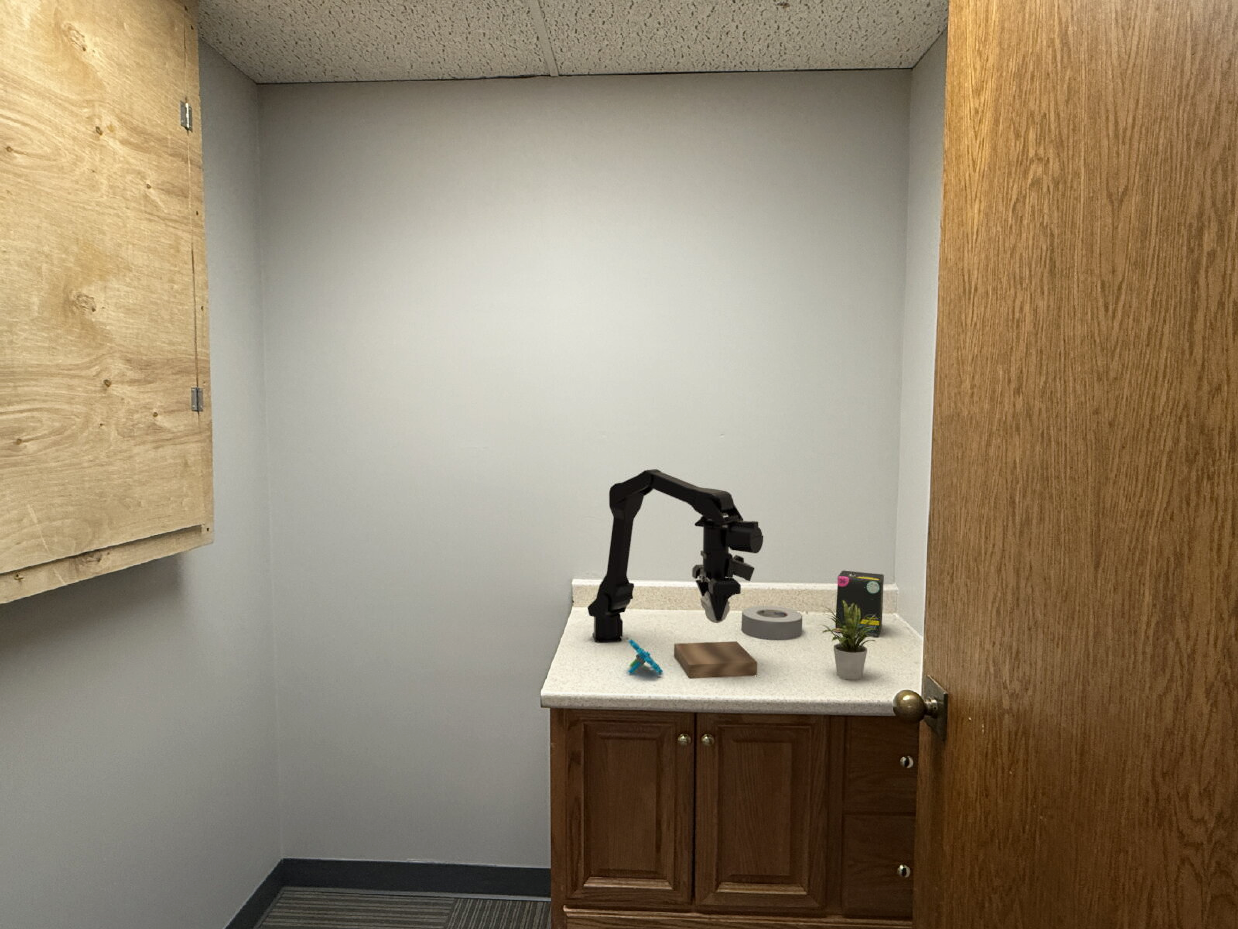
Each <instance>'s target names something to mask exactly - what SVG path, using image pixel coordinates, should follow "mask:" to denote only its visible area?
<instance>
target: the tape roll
mask: <svg viewBox="0 0 1238 929" xmlns="http://www.w3.org/2000/svg"><path fill="white" fill-rule="evenodd" d="M741 632H742V633H743V634H744V635H746V636H748V637H751V638H755V639H758V640H759V639H761V640H765V641H789V640H795V639H798V638H800V637H801V636H802V635H801V634H803V614H802V613H801V612H799V611H797V610H794V609H792V608H788V607H782V606H775V605H757V606H749V607H746V608H744V609H743V610H742V612H741ZM797 637H798V638H797Z"/></svg>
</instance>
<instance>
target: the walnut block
mask: <svg viewBox="0 0 1238 929" xmlns="http://www.w3.org/2000/svg"><path fill="white" fill-rule="evenodd" d="M673 657H674V659H675V660H676V661H677V663H678V664H679V666H680V667H681V670H683V672H684V673H685V674H686V676H687V678H688V679H709V678H710V679H711V678H712V679H713V678H735V677H736V678H737V677H757V676H758V675H757V674H758V661H757V660H755V658H754V657H753V656H752V655H751V654H750V653H749V652H748V651H747V650H746V649H745V648H744V647H743V646H742V645H741V644H740V643H739V642H738V641H735V640H734V641H711V642H709V641H708V642H686V643H685V642H684V643H683V642H682V643H673ZM755 675H756V676H755Z"/></svg>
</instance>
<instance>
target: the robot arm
mask: <svg viewBox="0 0 1238 929" xmlns="http://www.w3.org/2000/svg"><path fill="white" fill-rule="evenodd" d="M653 490H654V491H658V492H660V493H662V494H665V495H667V496H669V497H671V498H674V499H677V500H679V501H681V502H684V503H686V504H688V505H690V506H691V508H693V510H694V511H695V512H697V514H699V515H701V517H700V518H699V520H697V521H696V522H695V523H694V526H695V527H698V528H699V527H701V528H702V535H703V536H702V537H703V538H702V550H700V556H701V557H702V564H695V565H694V566H693V567H692V571H691V573H692V574H691V577H692V578H693V579H695V583H696V586H697V587H698V590H699V593H700V595H701V598H702V597H703V596H705V593H706V592H707V594H708V597H709V600H710V603H711V606H712V609H713V613H714V616H715V619H716V621H721V620H722V617H723V613H724V610H725V607H726V604H727V601H729V599H730V598H732V597H733V596H735V595H741V592H742V591H741V590H742V589H741V588H742V585H741V584H740V582H738V580H736V579H735V578H734V576H736V577H739V578H742V579H744V580H745V581H747V582H751V579H752V576H753V574H754V572H755V568H756V567H754V566H752V565H751V564H748V563H747V562H745V558H744V557H743V556H740V555H737V554H735V555H734V556H733V554H732V553H730V550H731V551H736V552H743V553H750V554H759V552H760V551H761V550H762V546H763V543H764V535H763V532H762V530H761V528H760V527H759V521H757V520H756V521H755V520H747V521H746V520H744V518H743V517H742V515H741V514H740V513H741V512H740V511H739V510H738V508H737V506H736V505H735V502H734V498H733V497H732V494H731V493H730V492H728V491H727V490H722V489H717V488H709V487H708V488H707V487H700V486H697V485H695V484H692V483H690V482H687V481H684V480H682V479H679V478H678V477H674V476H672V475H670V474H667V473H665V472H662V471H661V470H659V469H657V468H655V469H654V468H653V469H645V470H643V471H642V472H640V473H639V474H637V475H635V476H632V477H631V478H629V479H627V480H624V481H623V482H616V483H614V484H613V485H612V486H611V487H610V488H609V492H608V504H609V505H608V506H609V509H610V511H611V514H612V516H613V519H612V527H611V528H612V529H611V536H610V543H609V552H608V560H607V569H606V574H605V575H604V577H603V579H602V581H601V582H600V584H599V585H598V586H599V587H598V590H597V593H596V596H595V597H596V598H595V599H594V600H593V601H592V602H591V603H590V604H589V606H588V607H587V611H588V615H589V616H590V617H593V633H592V636H593V638H594V641H595V643H608V642H609V643H610V642H622V638H623V633H624V632H623V630H624V629H623V628H624V626H623V624H624V623H623V622H624V621H623V618H621V617H622V616H621V613H625V612H626V609H627V607H628V606H629V604H630V603H631V600H633V599H634V596H633V592H634V589H635V588H634V587H635V584H634V582H633V583H632V582H630V580H629V578H628V575H627V574H628V566H629V559H630V551H631V544H632V535H633V528H634V520H635V518H636V516H637V515H638V513H639V512H640V510H641V508H642V505H643V501H644V498H645V497H646V496H647V495H648V494H650V493H651V492H652V491H653Z"/></svg>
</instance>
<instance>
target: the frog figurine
mask: <svg viewBox="0 0 1238 929" xmlns="http://www.w3.org/2000/svg"><path fill="white" fill-rule="evenodd" d="M699 600H700V606H701V607H702V609H703V610H704V614H705V616H706V618H707V620H708V621H710V622H712V623H713V624H718V623H719V624H720V623H721V622H723V621H725V620H726V619H727V616H728V614H729V613H730V610H731V609H730V608H731V607H730V604H731V602H730V601H729V600H728V601H727V604H726V607H725V610H724V613H723V617H722V620H721V621H716V619H715V616H714V613H713V609H712V606H711V603H710V600H709V597H708V594H707V592H706V593H705V596H703V597H702V596H701V598H700V599H699Z"/></svg>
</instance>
